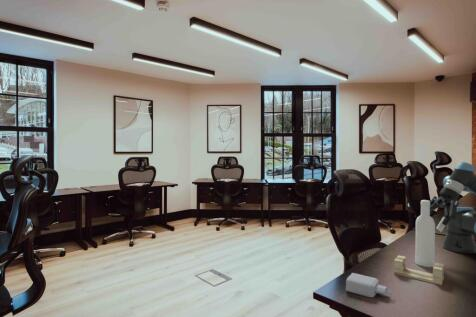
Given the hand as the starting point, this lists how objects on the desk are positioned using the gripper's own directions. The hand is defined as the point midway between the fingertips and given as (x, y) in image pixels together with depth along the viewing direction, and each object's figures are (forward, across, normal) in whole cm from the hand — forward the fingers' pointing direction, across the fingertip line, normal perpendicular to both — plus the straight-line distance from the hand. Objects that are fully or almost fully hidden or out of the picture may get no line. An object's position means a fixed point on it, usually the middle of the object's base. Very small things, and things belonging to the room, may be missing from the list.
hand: (428, 226), depth 146 cm
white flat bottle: (+40, +32, -29) cm, 59 cm away
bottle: (+17, +6, +4) cm, 18 cm away
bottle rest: (+24, +19, -6) cm, 31 cm away
